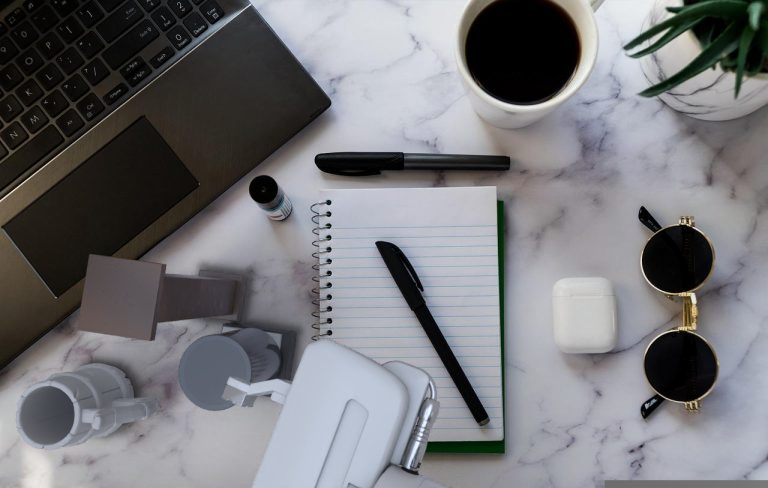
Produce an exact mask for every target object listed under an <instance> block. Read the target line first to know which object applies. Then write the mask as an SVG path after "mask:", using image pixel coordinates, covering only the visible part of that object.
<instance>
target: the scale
mask: <svg viewBox="0 0 768 488" xmlns="http://www.w3.org/2000/svg"><path fill="white" fill-rule="evenodd" d="M244 328H256V329H260V330H263V331H265V332H266V333H268V334H269V335H270V336H271V337H272V338H273V339H274V340H275V341H276V343H277V345H278V347H279V349H280V353H281V367H280V371H279V373H278V375H277V377H276V379H282V380H289V381H291V377H292V370H293V369H292V368H293V362H294V356H295V349H296V348H295V347H296V341H297V334H298V332H297V331H294V330H287V329H281V328H272V327H265V326H260V325H252V324H245V323H239V322H233V321H230V322H224V323H222V327H221V333H223V332H228V331H233V330H239V329H244ZM271 395H272V394H267V395H261V397H269V398H271Z"/></svg>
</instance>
